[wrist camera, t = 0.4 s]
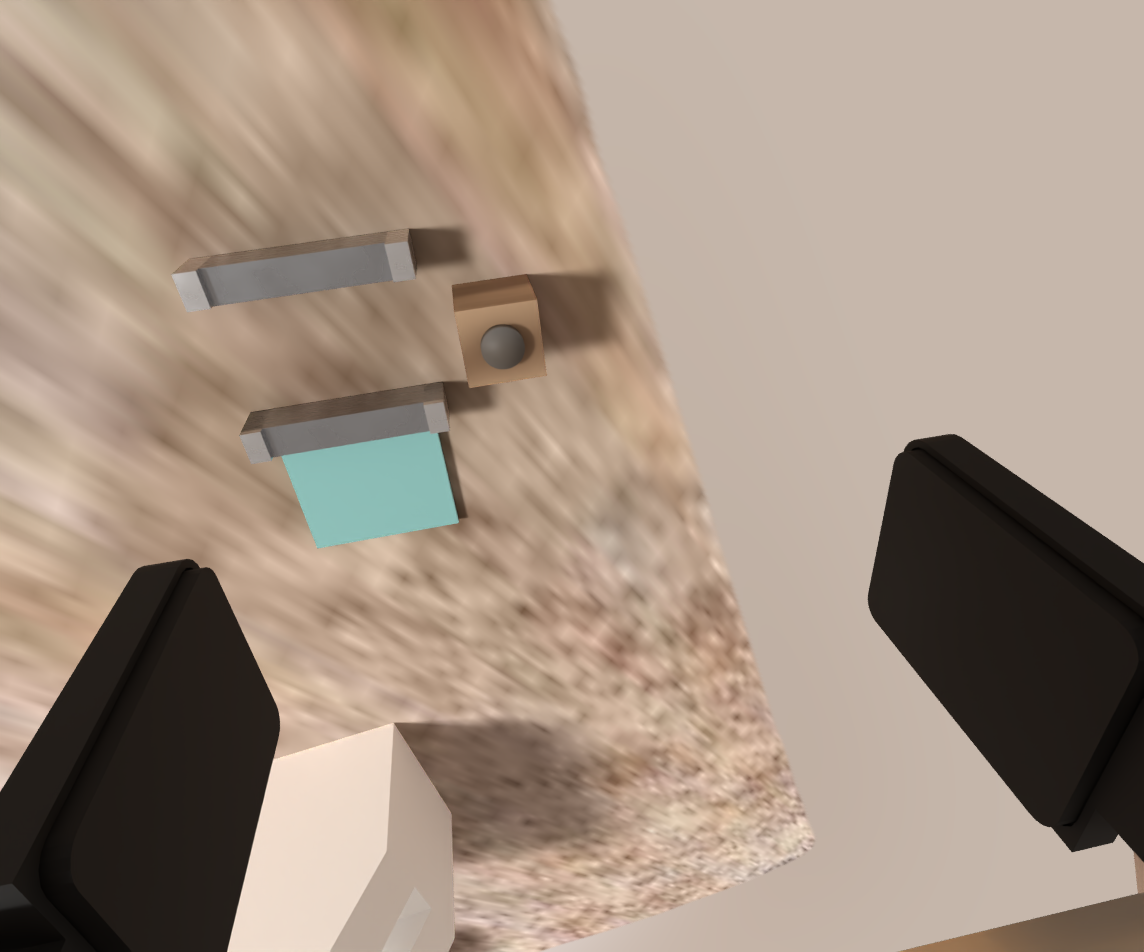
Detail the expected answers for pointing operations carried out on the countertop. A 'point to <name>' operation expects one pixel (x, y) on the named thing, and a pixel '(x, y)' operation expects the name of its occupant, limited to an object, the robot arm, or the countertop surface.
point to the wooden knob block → (499, 330)
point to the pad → (373, 488)
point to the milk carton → (349, 854)
